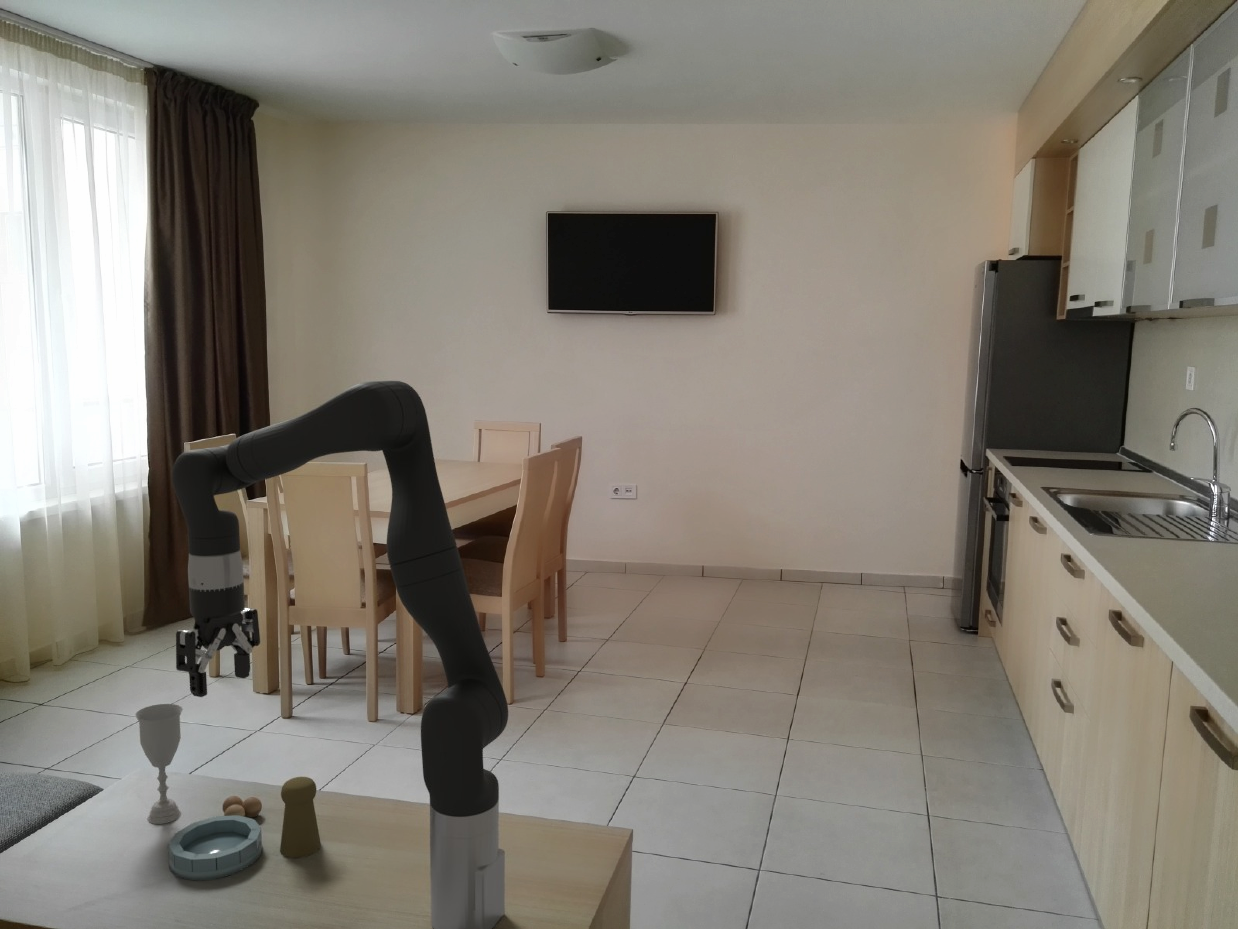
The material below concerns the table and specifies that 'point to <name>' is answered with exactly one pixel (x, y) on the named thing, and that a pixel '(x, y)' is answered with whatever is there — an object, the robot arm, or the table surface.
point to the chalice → (161, 752)
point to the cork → (299, 818)
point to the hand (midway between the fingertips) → (221, 686)
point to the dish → (215, 847)
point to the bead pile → (242, 807)
